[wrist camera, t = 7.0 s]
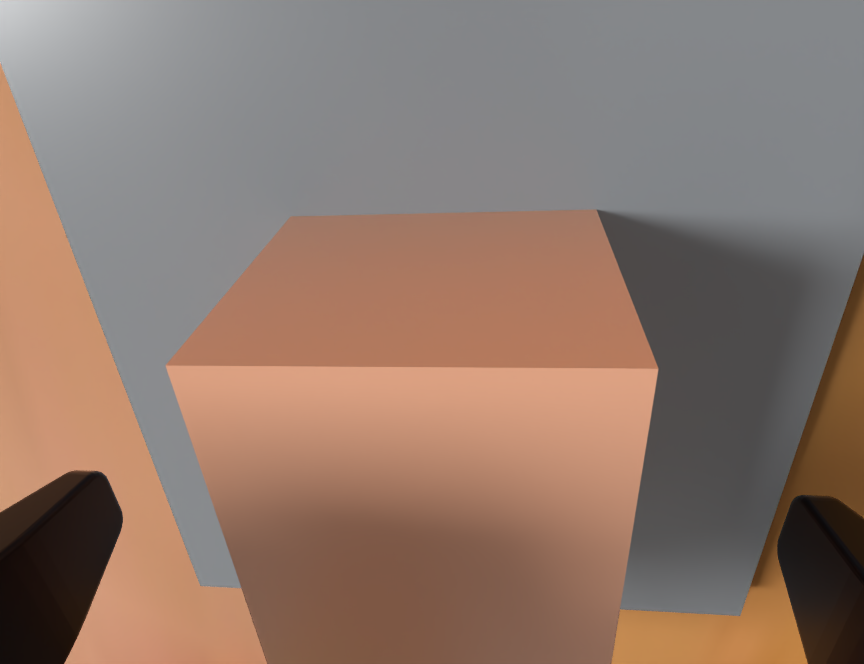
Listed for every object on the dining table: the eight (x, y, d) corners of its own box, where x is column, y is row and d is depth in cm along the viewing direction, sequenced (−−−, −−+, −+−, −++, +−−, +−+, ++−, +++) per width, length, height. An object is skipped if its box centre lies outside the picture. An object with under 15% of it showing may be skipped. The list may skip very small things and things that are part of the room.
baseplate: (727, 582, 14) (739, 615, 13) (214, 557, 15) (200, 585, 14) (925, -53, 7) (969, -56, 7) (18, -2, 9) (-23, 1, 8)
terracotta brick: (571, 508, 12) (600, 730, 8) (343, 500, 12) (282, 707, 9) (596, 209, 9) (658, 369, 5) (290, 215, 9) (165, 365, 6)
